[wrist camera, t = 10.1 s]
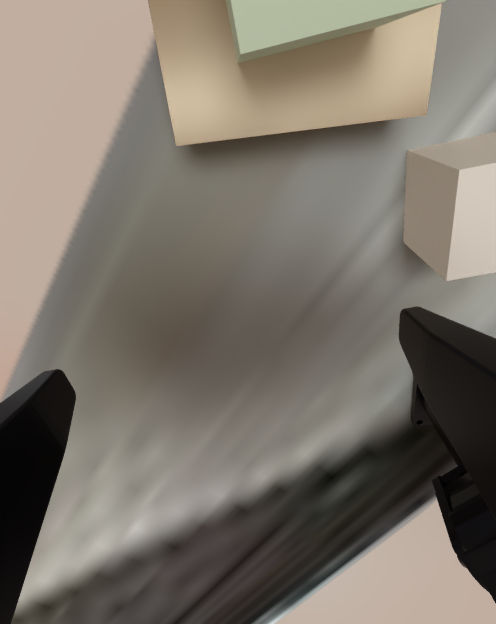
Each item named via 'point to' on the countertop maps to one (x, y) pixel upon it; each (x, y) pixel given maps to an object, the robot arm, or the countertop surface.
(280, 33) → the sage cube
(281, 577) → the countertop surface
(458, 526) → the robot arm
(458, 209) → the white cube
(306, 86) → the birch block
